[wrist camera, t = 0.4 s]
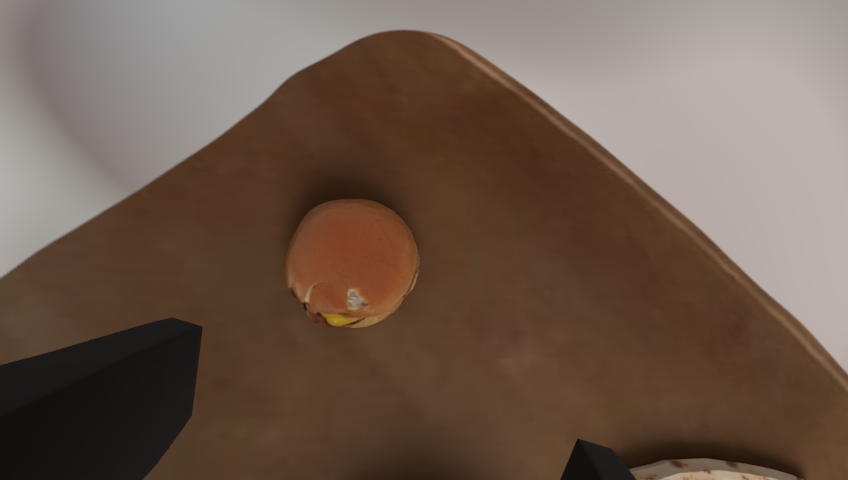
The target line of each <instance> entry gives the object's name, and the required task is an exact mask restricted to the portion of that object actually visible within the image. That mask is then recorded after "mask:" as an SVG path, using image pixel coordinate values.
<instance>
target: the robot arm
mask: <svg viewBox="0 0 848 480" xmlns="http://www.w3.org/2000/svg"><path fill="white" fill-rule="evenodd" d="M201 335H202V326H199V325H195V324H192V323H189V322H185V321H182V320H179V319H175V318H168V319H164V320H159V321H155V322H151V323H148V324H144V325H141V326H137V327H134V328H130V329H127V330H123V331H120V332H116V333H113V334H110V335H106V336H103V337H100V338H96V339H93V340H90V341H86V342H83V343H79V344H76V345H72V346H69V347H66V348H62V349H59V350H55V351H52V352H49V353H45V354H42V355H38V356H34V357H30V358H26V359H22V360H19V361H15V362H11V363H7V364H3V365H0V480H143V478H144V477H145V476H146V475H147V474H148V473H149V472H150V471H151V470H152V469H153V467H154V466H155V465H156V464H157V463H158V461H159V460H160V459H161V457H162V456H163V455H164V453H165V452H166V451H167V449H168V448H169V447H170V445H171V444H172V443H173V441H174V440H175V439H176V437H177V436H178V434H179V433H180V432H181V430H182V429H183V427H184V426H185V424H186V423H187V422H188V420H189V419H190V417H191V416H192V408H193V400H194V392H195V384H196V376H197V368H198V360H199V351H200V343H201ZM560 480H637V479H636V478H635V477H634V476H633V474H632V473H631V472H630V470H629V469H628V468H627V467H626V466H625V464H624V463H623V462H622V461H621V459H620V458H619V457H618V456H617V455H616V454H615V452H614V451H613V450H612V449H611V448H607V447H604V446H601V445H597V444H594V443H591V442H587V441H584V440H580V439H577V442H576V444H575V446H574V449H573V451H572V453H571V456H570V458H569V461H568V463H567V465H566V468H565V470H564V472H563V475H562V477H561V479H560Z"/></svg>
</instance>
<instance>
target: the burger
mask: <svg viewBox="0 0 848 480" xmlns="http://www.w3.org/2000/svg"><path fill="white" fill-rule="evenodd" d="M419 260H420V256H418V250H417V247H416V244H415V242H414V238H413V235H412V233H411V231H410V229H409V227H408V226H407V225H406V224H405V222H404V221H403V220H402V219H401V218H400V217H399V216H398V215H397V214H396V213H395V212H394V211H393V210H391V209H389V208H388V207H386V206H384V205H381V204H379V203H377V202H375V201H371V200H365V199H352V200H351V199H340V200H334V201H328V202H325V203H323V204H320V205H318V206H316V207H314V208H313V209H311V210H310V211H309V212H308V213H307V214H306V215H305V217H304V218H303V220H302V221H301V223H300V224H299V226H298V228H297V230H296V231H295V233H294V235H293V237H292V239H291V242H290V244H289V248H288V250H287V255H286V263H285V277H286V284H287V286H288V288H291V289H292V295H293V297H295V298H298V299H299V300H300V301H301V302H302V303H303V304H304V309H305V310H308V311H306V312H307V315H308V317H309V318H310V319H311V320H312V321H314V322H315V323H318V324H321V323H322V324H324V325H325V326H327V327H342V328H346V327H349V328H350V327H352V328H361V327H368V326H370V325H374V324H376V323H377V322H379V321H382V320H384V319H385V318H387V317H388V315H389V314H391V313H392V312H394V311H395V310H396V309H397V308H398V306H399V305H400V304H401V303H402V301H403V299H404V298H405V297H406V296H407V295H408V294H409V293H410V292H411V291H412V290H413V288H414V286H415V284H416V278H417V276H418V273H419V271H418V269H419V265H420V262H419Z"/></svg>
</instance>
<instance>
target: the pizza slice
mask: <svg viewBox="0 0 848 480" xmlns="http://www.w3.org/2000/svg"><path fill="white" fill-rule="evenodd" d="M629 470H630V472H631V473H632V474H633V476H634V477H635V478H636V479H637V480H804V479H801V478H798V477H796V476H793V475H790V474H787V473H784V472H780V471H777V470H773V469H770V468H765V467H760V466H755V465H749V464H744V463H737V462H729V461H721V460H714V459H708V458H697V459H677V460H661V461H658V462H656V463H653V464H649V465H644V466H640V467H636V468H632V469H629Z"/></svg>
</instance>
